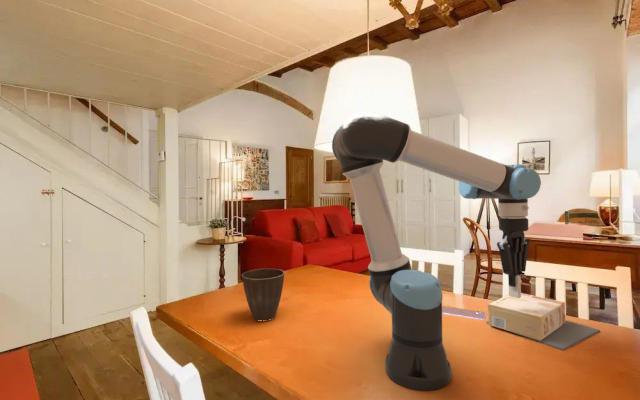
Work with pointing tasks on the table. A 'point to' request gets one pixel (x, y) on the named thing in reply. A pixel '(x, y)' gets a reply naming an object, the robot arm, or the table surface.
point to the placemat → (566, 335)
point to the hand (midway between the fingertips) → (514, 296)
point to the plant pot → (263, 291)
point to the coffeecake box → (527, 315)
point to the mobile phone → (463, 313)
